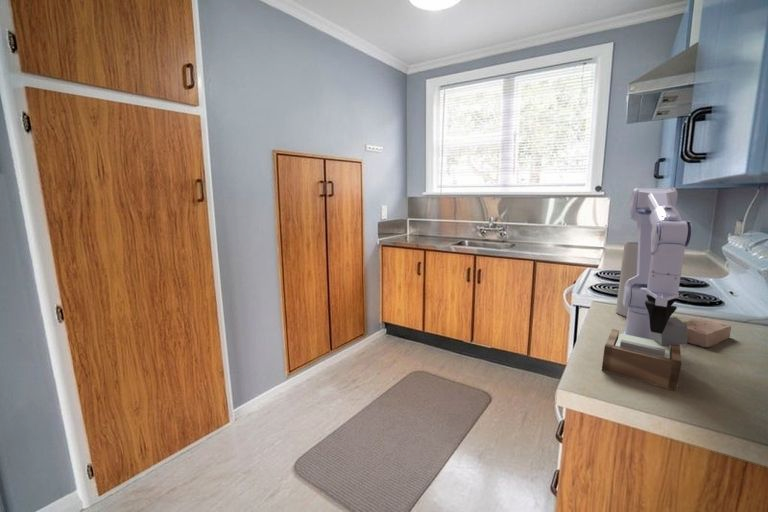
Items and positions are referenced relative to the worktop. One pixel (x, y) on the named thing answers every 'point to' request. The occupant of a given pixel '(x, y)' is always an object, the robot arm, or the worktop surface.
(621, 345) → the trapdoor
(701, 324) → the brick
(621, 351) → the frame
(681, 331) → the grey cube
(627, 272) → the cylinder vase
